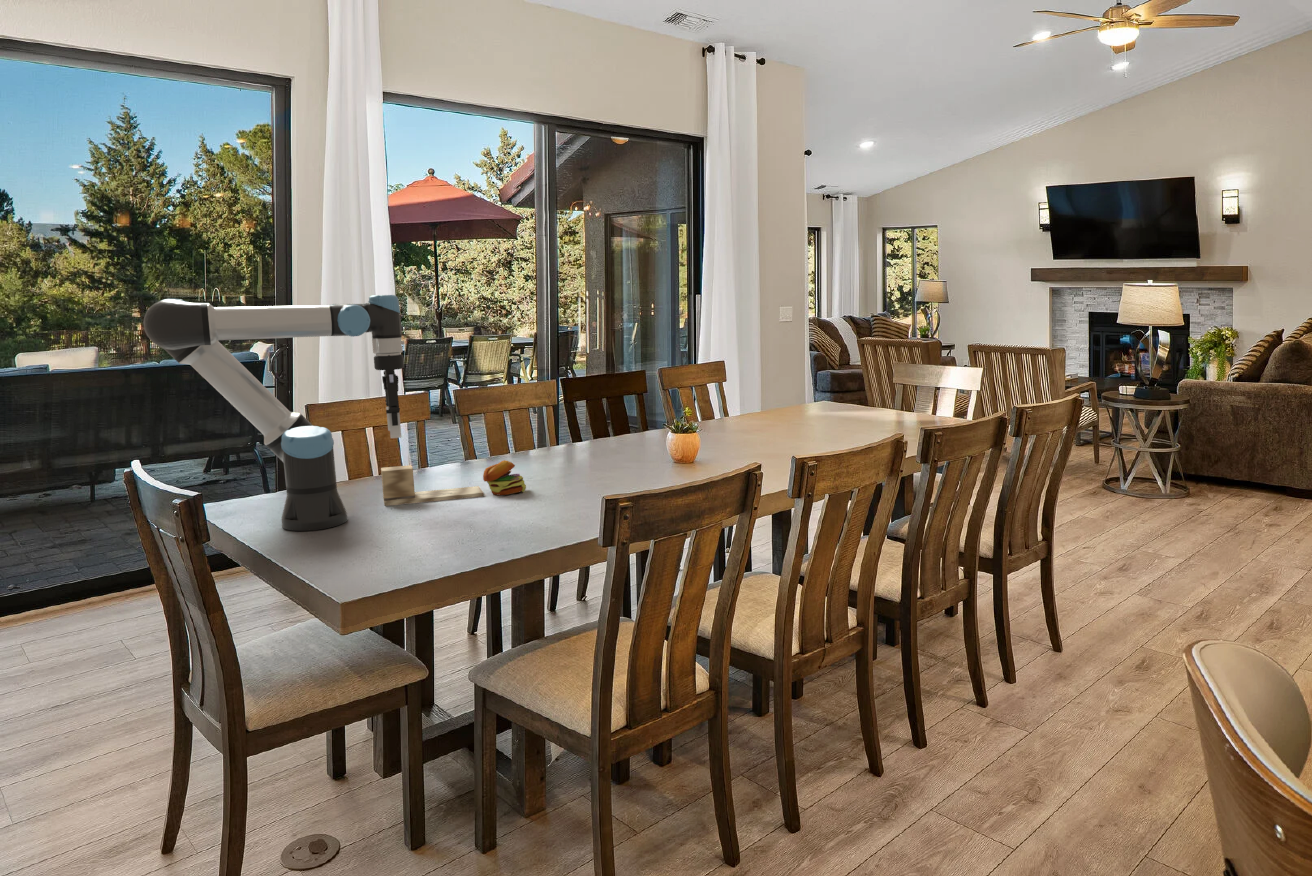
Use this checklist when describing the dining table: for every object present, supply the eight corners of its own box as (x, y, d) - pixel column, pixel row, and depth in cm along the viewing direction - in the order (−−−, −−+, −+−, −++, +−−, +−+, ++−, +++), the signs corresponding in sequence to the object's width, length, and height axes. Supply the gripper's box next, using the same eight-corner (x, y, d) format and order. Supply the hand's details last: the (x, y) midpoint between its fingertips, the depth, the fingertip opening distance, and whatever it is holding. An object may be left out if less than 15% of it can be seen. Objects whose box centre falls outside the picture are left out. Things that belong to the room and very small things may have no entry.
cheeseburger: (524, 495, 250) (513, 460, 248) (487, 505, 251) (475, 471, 249) (529, 486, 260) (519, 453, 258) (493, 496, 261) (483, 463, 259)
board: (384, 506, 243) (384, 502, 243) (383, 498, 251) (383, 495, 251) (483, 496, 251) (483, 492, 251) (479, 489, 259) (478, 485, 259)
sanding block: (384, 500, 245) (381, 471, 243) (383, 496, 249) (380, 467, 248) (415, 497, 247) (412, 468, 246) (413, 493, 252) (411, 465, 250)
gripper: (406, 356, 231) (412, 439, 235) (400, 350, 255) (406, 426, 258) (375, 358, 229) (381, 442, 233) (372, 352, 252) (378, 428, 256)
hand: (394, 434), depth 245 cm, fingers open, 13 cm apart
